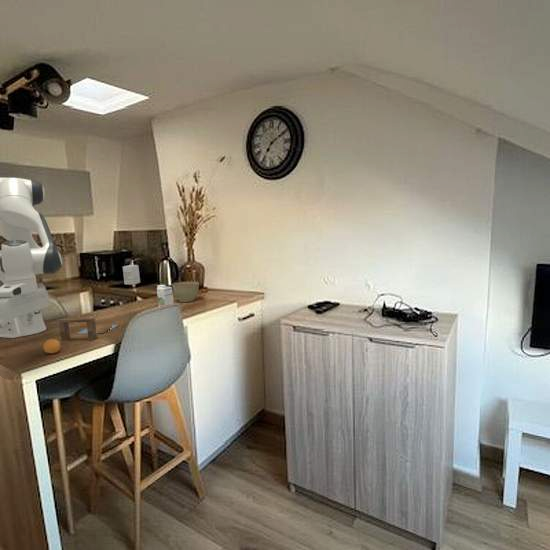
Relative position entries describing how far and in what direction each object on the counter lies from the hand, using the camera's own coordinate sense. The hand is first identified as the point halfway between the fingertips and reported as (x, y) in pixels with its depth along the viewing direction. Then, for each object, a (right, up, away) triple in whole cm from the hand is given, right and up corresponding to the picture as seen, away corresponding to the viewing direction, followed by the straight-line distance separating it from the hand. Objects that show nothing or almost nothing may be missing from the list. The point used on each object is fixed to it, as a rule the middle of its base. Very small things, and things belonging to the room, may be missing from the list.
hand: (28, 325), depth 128 cm
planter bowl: (+33, +2, +96) cm, 101 cm away
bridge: (+3, -10, +28) cm, 30 cm away
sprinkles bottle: (+24, -1, +78) cm, 82 cm away
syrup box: (+29, -3, +66) cm, 72 cm away
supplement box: (-31, +11, +171) cm, 174 cm away
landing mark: (+5, -8, +42) cm, 42 cm away
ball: (+1, -10, +12) cm, 15 cm away
